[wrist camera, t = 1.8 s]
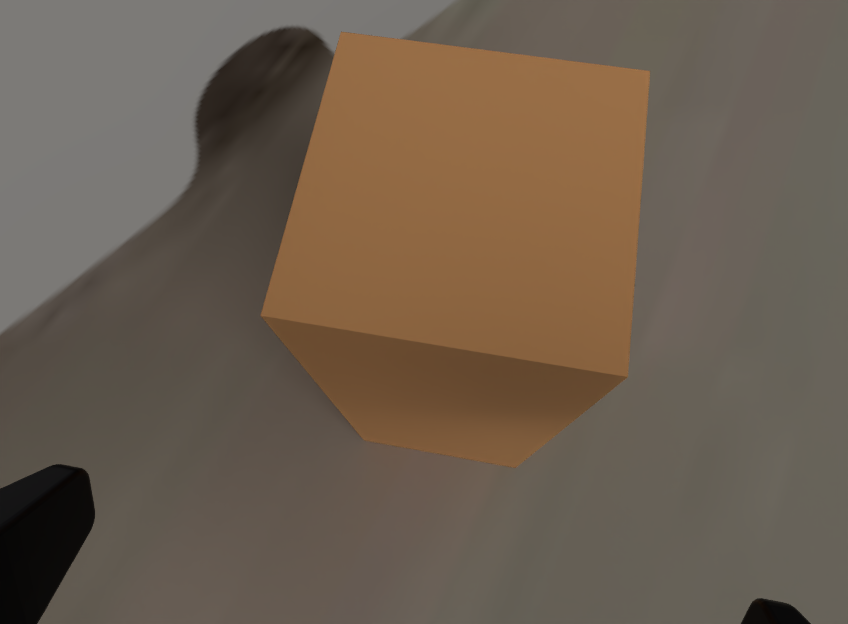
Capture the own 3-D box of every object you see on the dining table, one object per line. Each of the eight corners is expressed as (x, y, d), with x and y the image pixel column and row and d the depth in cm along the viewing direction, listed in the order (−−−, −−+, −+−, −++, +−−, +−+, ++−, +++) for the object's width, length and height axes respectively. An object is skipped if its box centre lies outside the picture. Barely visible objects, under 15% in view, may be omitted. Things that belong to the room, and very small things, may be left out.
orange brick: (515, 467, 20) (627, 377, 8) (364, 440, 20) (260, 315, 8) (534, 323, 21) (650, 71, 10) (393, 300, 22) (341, 31, 10)
